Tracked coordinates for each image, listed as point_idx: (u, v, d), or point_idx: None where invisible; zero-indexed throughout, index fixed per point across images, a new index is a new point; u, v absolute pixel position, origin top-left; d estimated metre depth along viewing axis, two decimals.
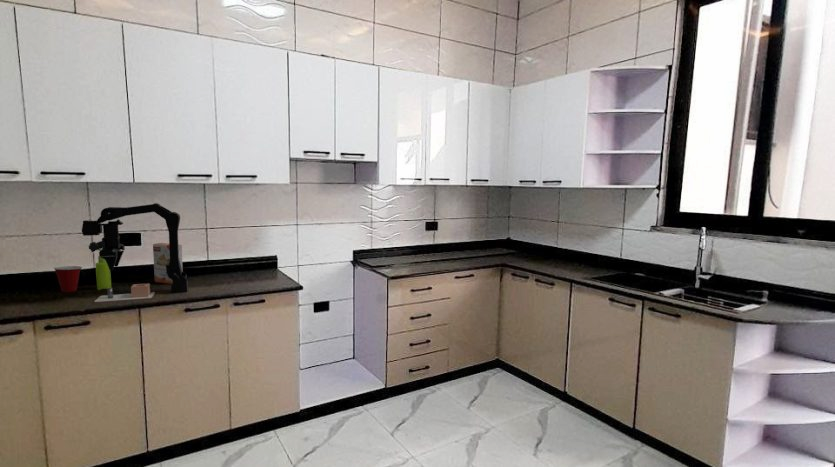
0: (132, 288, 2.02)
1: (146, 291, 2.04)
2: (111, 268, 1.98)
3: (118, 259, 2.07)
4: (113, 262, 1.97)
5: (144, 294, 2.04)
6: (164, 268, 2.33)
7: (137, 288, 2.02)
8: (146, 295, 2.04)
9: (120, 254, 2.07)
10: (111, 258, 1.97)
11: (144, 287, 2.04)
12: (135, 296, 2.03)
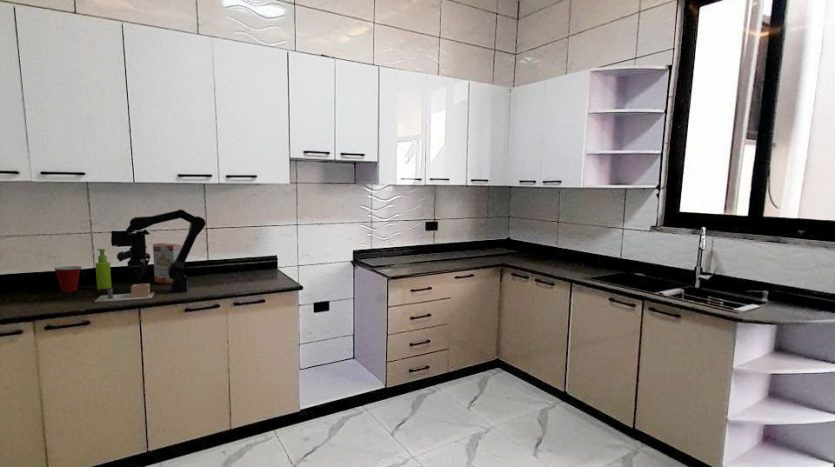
0: (132, 288, 2.02)
1: (146, 291, 2.04)
2: (138, 277, 2.00)
3: (144, 268, 2.09)
4: (140, 272, 2.00)
5: (144, 294, 2.04)
6: (164, 268, 2.33)
7: (137, 288, 2.02)
8: (146, 295, 2.04)
9: (146, 263, 2.10)
10: (139, 268, 1.99)
11: (144, 287, 2.04)
12: (135, 296, 2.03)
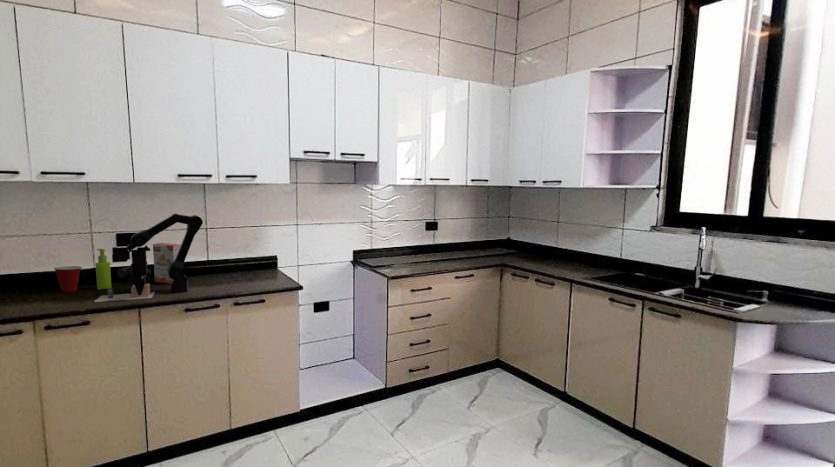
0: (132, 288, 2.02)
1: (146, 291, 2.04)
2: (140, 293, 2.03)
3: None
4: (142, 287, 2.02)
5: (144, 294, 2.04)
6: (164, 268, 2.33)
7: None
8: (146, 295, 2.04)
9: (146, 280, 2.09)
10: (140, 283, 2.01)
11: (144, 287, 2.04)
12: (135, 296, 2.03)
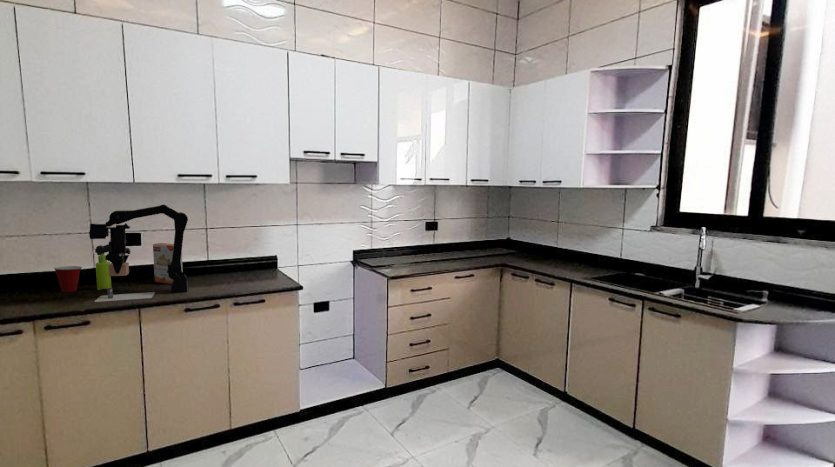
0: (110, 266, 1.97)
1: (124, 270, 2.00)
2: (117, 271, 1.98)
3: None
4: (120, 265, 1.97)
5: (122, 273, 1.99)
6: (164, 268, 2.33)
7: None
8: (124, 274, 2.00)
9: (125, 258, 2.05)
10: (118, 261, 1.97)
11: (122, 265, 1.99)
12: (113, 275, 1.98)
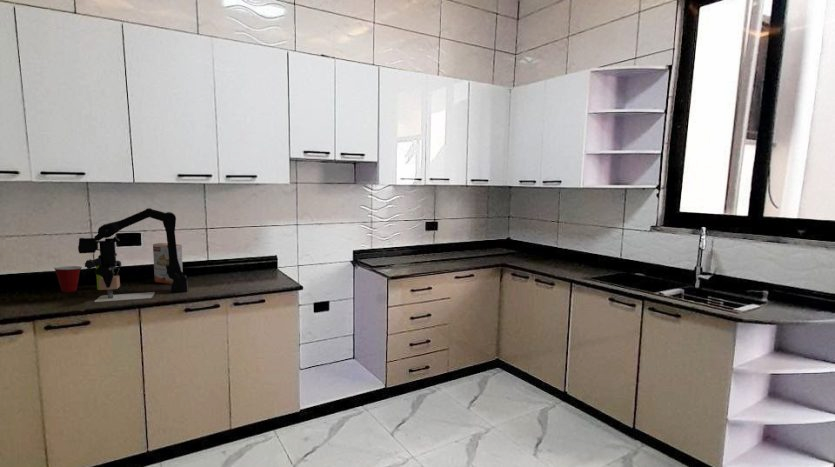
0: (100, 279, 1.96)
1: (115, 283, 1.99)
2: (108, 285, 1.97)
3: None
4: (110, 279, 1.97)
5: (113, 286, 1.99)
6: (164, 268, 2.33)
7: None
8: (115, 287, 1.99)
9: (116, 272, 2.04)
10: (108, 275, 1.96)
11: (113, 279, 1.98)
12: (104, 289, 1.97)
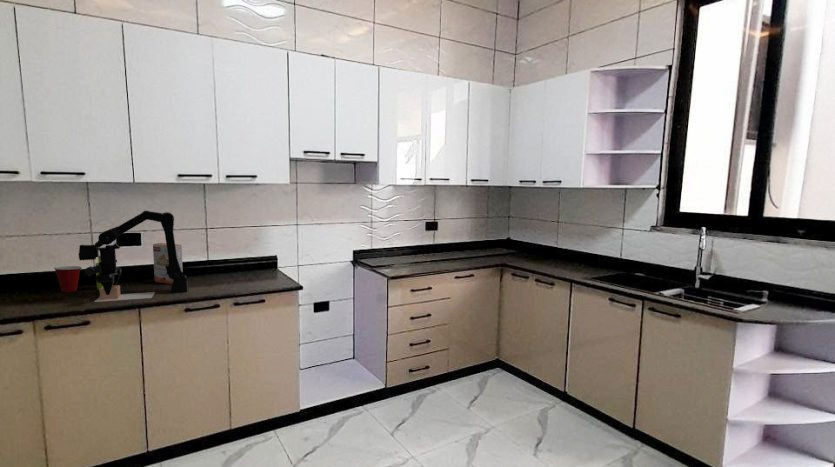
0: (101, 290, 1.97)
1: (115, 293, 1.99)
2: (108, 293, 1.97)
3: (115, 283, 2.05)
4: (110, 287, 1.96)
5: (113, 296, 1.99)
6: (164, 268, 2.33)
7: None
8: (115, 297, 2.00)
9: (117, 278, 2.05)
10: (108, 283, 1.95)
11: (113, 289, 1.99)
12: (104, 299, 1.98)
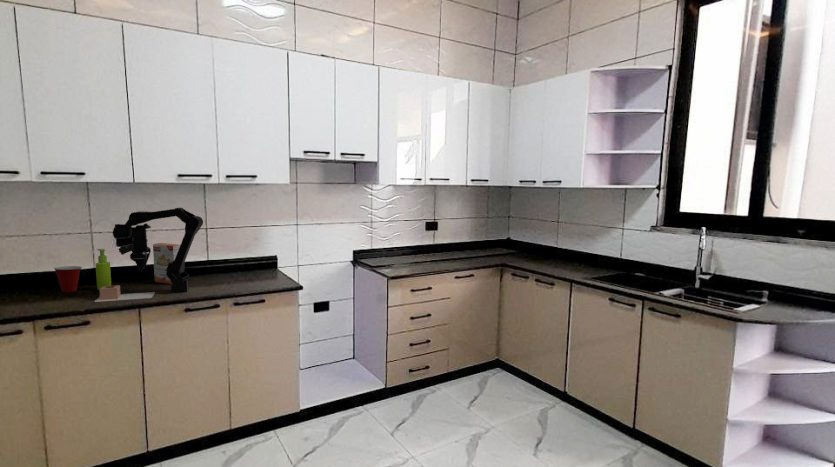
0: (101, 290, 1.97)
1: (115, 293, 1.99)
2: (140, 270, 2.07)
3: (145, 261, 2.15)
4: (142, 264, 2.06)
5: (113, 296, 1.99)
6: (164, 268, 2.33)
7: (106, 290, 1.98)
8: (115, 297, 2.00)
9: (147, 256, 2.16)
10: (141, 260, 2.05)
11: (113, 289, 1.99)
12: (104, 299, 1.98)
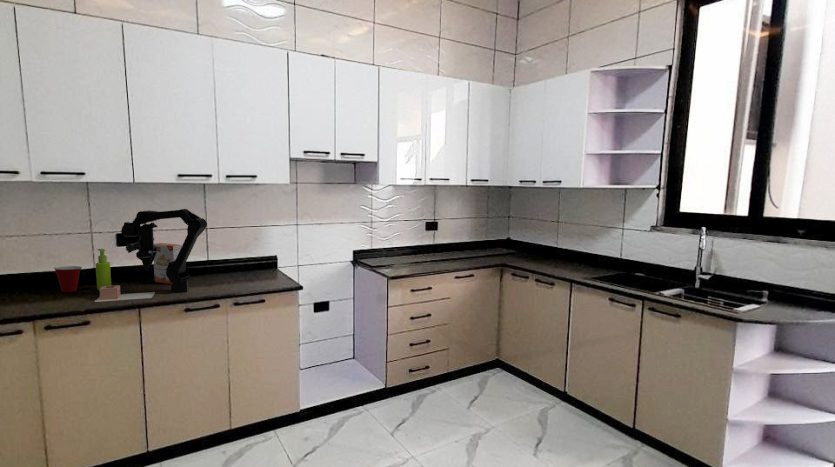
0: (101, 290, 1.97)
1: (115, 293, 1.99)
2: (146, 268, 2.09)
3: (151, 260, 2.18)
4: (148, 263, 2.08)
5: (113, 296, 1.99)
6: (164, 268, 2.33)
7: (106, 290, 1.98)
8: (115, 297, 2.00)
9: (154, 255, 2.18)
10: (147, 259, 2.08)
11: (113, 289, 1.99)
12: (104, 299, 1.98)
